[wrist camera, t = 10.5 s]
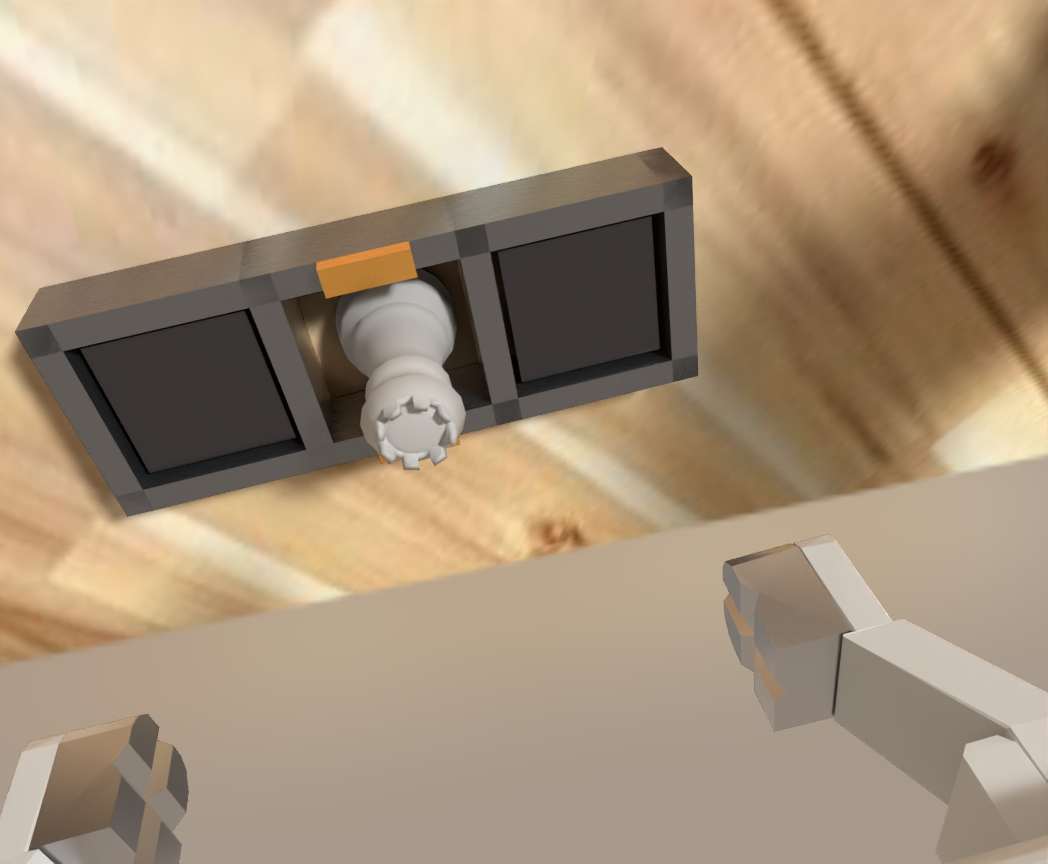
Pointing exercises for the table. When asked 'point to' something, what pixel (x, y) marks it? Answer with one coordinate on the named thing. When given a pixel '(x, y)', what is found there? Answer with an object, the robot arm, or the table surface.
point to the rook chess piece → (404, 367)
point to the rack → (353, 265)
